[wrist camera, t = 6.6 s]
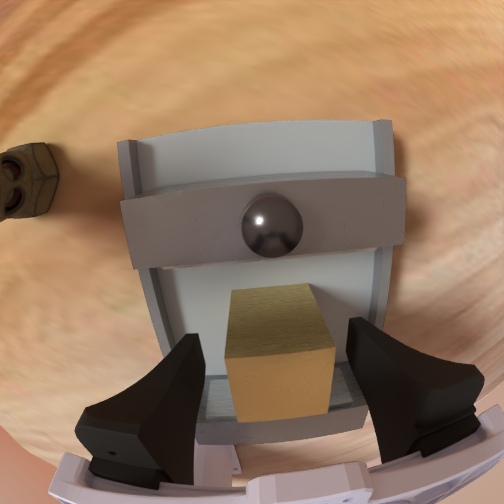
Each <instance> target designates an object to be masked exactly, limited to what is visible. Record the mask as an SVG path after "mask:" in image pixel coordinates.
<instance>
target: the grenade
mask: <svg viewBox="0 0 504 504" xmlns="http://www.w3.org/2000/svg"><path fill="white" fill-rule="evenodd" d="M58 177H59V174H58V171H57V167H56V164H55V162H54V159H53V157H52V155H51V153H50V151H49V149H48V147H47V146H46V144H45V143H44V142H43V143H29V144H24V145H20V146H17V147H13V148H10V149H8V150H7V151H6V152H3V153H1V154H0V222H1V221H3V220H5V219H7V218H8V219H9V218H14V219H20V218H30V217H36V216H39V215H41V214H44V213H46V212H47V211H48V209H49V207H50V204H51V202H52V199H53V196H54V194H55V190H56V187H57V182H58Z"/></svg>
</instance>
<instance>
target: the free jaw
mask: <svg viewBox="0 0 504 504" xmlns="http://www.w3.org/2000/svg"><path fill="white" fill-rule="evenodd" d="M120 206H121V212H122V218H123V223H124V228H125V234H126V238H127V243H128V248H129V252H130V257H131V261H132V266H133V269H145V268H157V267H162V268H163V270H164V269H176V268H188V267H200V266H211V265H223V264H234V263H246V262H257V261H268V260H279V259H289V258H300V257H311V256H321V255H331V254H341V253H352V252H362V251H371V250H377V247H386V246H396V245H404V236H405V217H406V178H405V177H400V176H394V175H389V174H383V173H377V172H371V171H364V170H358V171H320V172H299V173H283V174H269V175H257V176H246V177H235V178H226V179H217V180H208V181H200V182H193V183H185V184H178V185H171V186H164V187H158V188H154V189H151V190H148V191H145V192H143V193H140V194H137V195H135V196H132V197H130V198H127V199H125V200H122V201H120Z"/></svg>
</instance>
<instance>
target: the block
mask: <svg viewBox="0 0 504 504" xmlns="http://www.w3.org/2000/svg"><path fill="white" fill-rule="evenodd" d="M335 352H336V346H335V344H334V341H333V339H332V337H331V334H330V332H329V330H328V327H327V325H326V323H325V321H324V318H323V316H322V314H321V312H320V309H319V307H318V305H317V303H316V300H315V298H314V296H313V294H312V291H311V289H310V287H309V285H308V283H301V284H291V285H281V286H271V287H260V288H248V289H236V290H231V298H230V307H229V317H228V326H227V336H226V345H225V355H224V361H225V366H226V371H227V375H228V380H229V385H230V390H231V394H232V399H233V403H234V408H235V412H236V417H237V421H238V423H241V422H258V421H271V420H281V419H290V418H298V417H306V416H313V415H319V414H325V413H328V407H329V400H330V393H331V386H332V378H333V370H334V361H335Z"/></svg>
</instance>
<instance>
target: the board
mask: <svg viewBox="0 0 504 504" xmlns="http://www.w3.org/2000/svg"><path fill="white" fill-rule="evenodd" d="M117 147H118V157H119V166H120V174H121V181H122V188H123V195H124V200H125V199H127V198H130V197H132V196H135V195H137V194H140V193H143V192H145V191H148V190H151V189H154V188H158V187H164V186H171V185H178V184H185V183H193V182H200V181H208V180H217V179H226V178H235V177H246V176H257V175H269V174H283V173H299V172H320V171H358V170H364V171H371V172H377V173H383V174H389V175H394V176H395V159H394V141H393V128H392V120H377V121H353V120H290V121H270V122H256V123H244V124H234V125H225V126H216V127H209V128H201V129H195V130H188V131H182V132H176V133H171V134H165V135H160V136H155V137H150V138H145V139H141V140H124V141H120V142H117ZM392 256H393V246H386V247H377V250H371V251H362V252H352V253H341V254H331V255H321V256H311V257H300V258H289V259H279V260H268V261H257V262H246V263H234V264H223V265H211V266H200V267H188V268H176V269H164V270H163V268H162V267H157V268H145V269H138V271H139V275H140V279H141V283H142V287H143V291H144V295H145V298H146V302H147V306H148V309H149V313H150V316H151V320H152V323H153V326H154V330H155V333H156V336H157V339H158V342H159V345H160V348H161V351H162V354H163V357H164V358H165V357H166V356H167V355H168V353H169V352H170V351H171V350H172V349H173V348H174V347H175V346H176V344H177V343H178V342H179V341H180V340H181V339H182V338H183V336H184V335H185V334H186V333H198V334H199V338H200V342H201V346H202V351H203V355H204V359H205V363H206V373H205V375H227V371H226V366H225V361H224V355H225V345H226V336H227V326H228V317H229V307H230V298H231V290H236V289H248V288H260V287H271V286H281V285H291V284H301V283H308V285H309V287H310V289H311V291H312V294H313V296H314V298H315V300H316V303H317V305H318V307H319V309H320V312H321V314H322V316H323V318H324V321H325V323H326V325H327V327H328V330H329V332H330V334H331V337H332V339H333V341H334V344H335V346H336V352H335V361H334V363H339V362H345V361H348V358H347V355H346V351H345V350H346V342H347V333H348V323H349V318H354V317H360V316H361V317H362V318H364V319H365V320H367V321H368V322H370V323H371V324H373V325H374V326H376V327H377V328H378V329H380V330H381V331H383V326H384V320H385V314H386V307H387V301H388V293H389V285H390V276H391V267H392Z"/></svg>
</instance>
